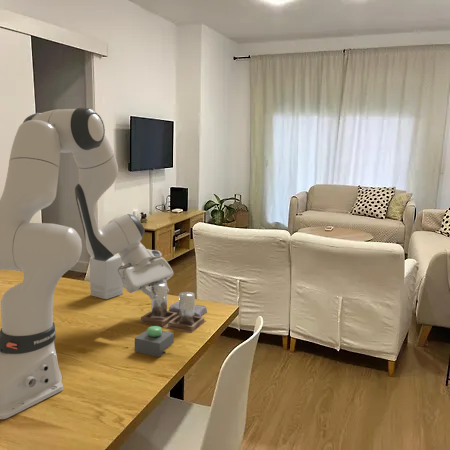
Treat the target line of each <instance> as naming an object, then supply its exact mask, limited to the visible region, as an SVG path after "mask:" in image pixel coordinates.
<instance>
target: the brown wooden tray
mask: <svg viewBox="0 0 450 450" xmlns="http://www.w3.org/2000/svg"><path fill="white" fill-rule="evenodd" d="M206 322H207V320H205V317H203V316H201V317H197V316H194V324H193V325H192V326H190V325H185V324H180V323H179V315H177V313H175V312H170V311H169V310H167V314H166V315H165V316H160V317H157V316H153V315H152V314H151V310H150V311H149V312H147V313H145V314H143V315H141V317H140V321H138V322H137V323H139V324H144V325H149V326H159V327H161V328H164V329H170V330H175V331H178V332H184V333H189V334H191V333H193V332H195V331H196V330H197V329H198V328H200V327H201V326H202V325H203V324H205V323H206Z"/></svg>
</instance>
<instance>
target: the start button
mask: <svg viewBox="0 0 450 450" xmlns="http://www.w3.org/2000/svg"><path fill="white" fill-rule="evenodd" d="M162 328H163V327H159V326H153V325H150V326H148V327H147V329H146V330H147V335H148V336H151V337H155V338H156V337H157V336H160V335H161V334H162V331H163V329H162Z"/></svg>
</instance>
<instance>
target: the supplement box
mask: <svg viewBox="0 0 450 450" xmlns="http://www.w3.org/2000/svg"><path fill="white" fill-rule="evenodd" d="M120 266H124V263H123V262H122V260H121V257H120V255H116V254H115V255H114V256H113V257H111V258H110V259H108V260H107V261H99V260H95V259H93V258H92V256H91V257H89V283H90V284H89V285H90V286H89V287H90V288H89V289H90V292H89V293H90V296H92V297H96V298H100V299H103V300H108V299H111V298H114V297H118V296H120V295H123V294H124V289H123V288H124V285H123V283H122V280H121V277H120V275H119V274H118V268H119V267H120ZM119 270H120V269H119Z"/></svg>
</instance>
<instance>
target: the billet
mask: <svg viewBox="0 0 450 450" xmlns="http://www.w3.org/2000/svg"><path fill="white" fill-rule="evenodd" d="M167 287H168V283H167V284H166V283H164V282H156V283H152V286H151V291H152V292H155V294H156V295H157V296H156V297H155V298H154V299H150V300H151V304H150V305H151V310H150V311H151V314H152V315H153V316H157V317H160V316H165V315H166V314H167V311H168V293H167Z"/></svg>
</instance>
